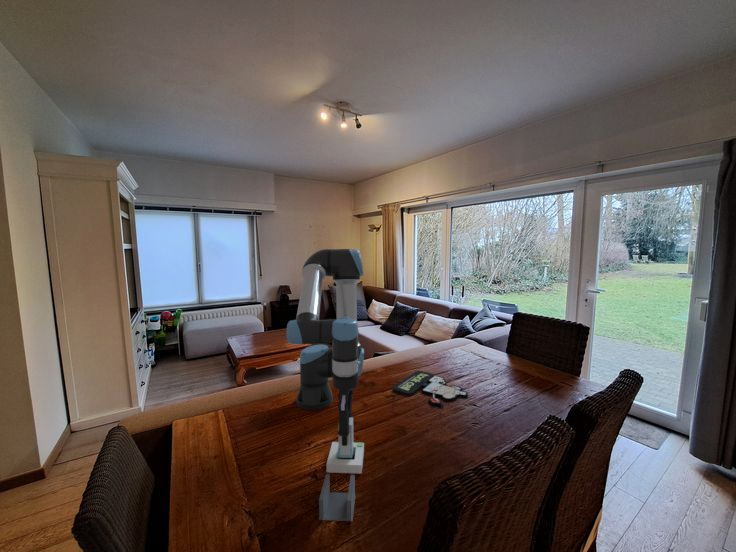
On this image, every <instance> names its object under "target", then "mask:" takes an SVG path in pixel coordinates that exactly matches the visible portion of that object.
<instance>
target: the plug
mask: <svg viewBox="0 0 736 552" xmlns="http://www.w3.org/2000/svg"><path fill="white" fill-rule="evenodd" d="M353 418H354V417H351V418H350V417H349V432H350V455H340V436H339V434H337V435H338V441H337V442H338V450H339V455H338V459H353V456H354V455H353V450H354V443H355V441H354V438H355V437H354V422H353ZM337 427H338V429H337V432H338V431H339V423H338V425H337Z"/></svg>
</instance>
